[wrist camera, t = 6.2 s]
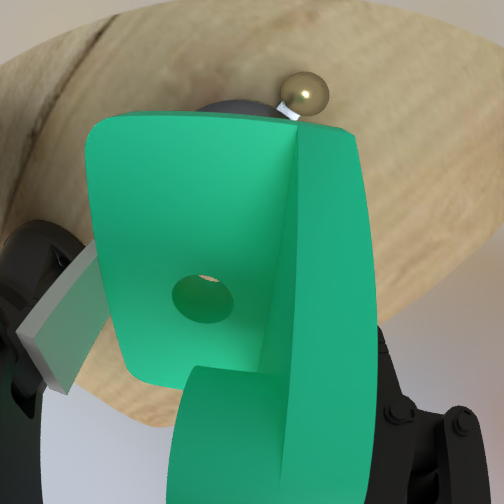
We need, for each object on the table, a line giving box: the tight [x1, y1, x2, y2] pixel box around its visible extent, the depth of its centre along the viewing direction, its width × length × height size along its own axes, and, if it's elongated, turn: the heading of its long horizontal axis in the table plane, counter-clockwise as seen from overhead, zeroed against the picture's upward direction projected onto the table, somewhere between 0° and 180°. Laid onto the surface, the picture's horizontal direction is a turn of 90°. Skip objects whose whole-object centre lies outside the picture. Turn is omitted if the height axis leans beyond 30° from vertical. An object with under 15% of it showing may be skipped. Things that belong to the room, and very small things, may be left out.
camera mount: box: [85, 111, 378, 504], centre depth 8 cm, size 12×8×10 cm, turn 174°
